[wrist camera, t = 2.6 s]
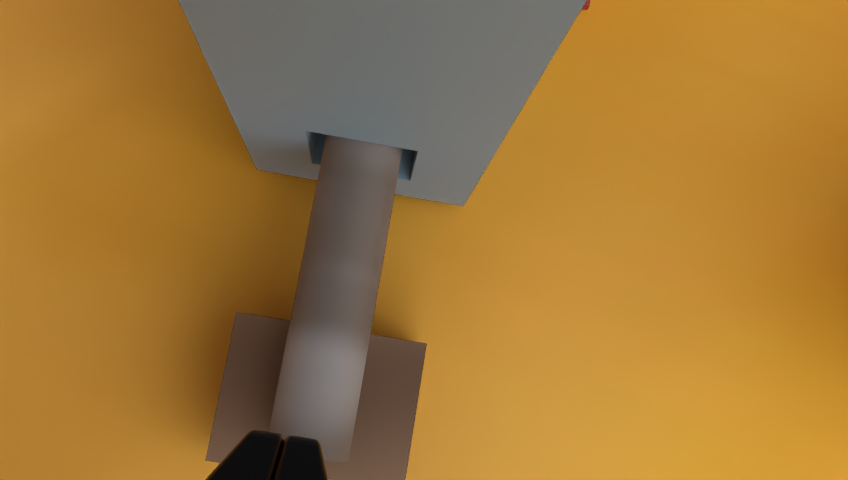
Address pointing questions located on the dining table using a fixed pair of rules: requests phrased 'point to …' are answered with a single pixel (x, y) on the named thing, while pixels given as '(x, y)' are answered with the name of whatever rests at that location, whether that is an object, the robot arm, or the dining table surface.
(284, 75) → the sleeve
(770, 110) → the dining table surface
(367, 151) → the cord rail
